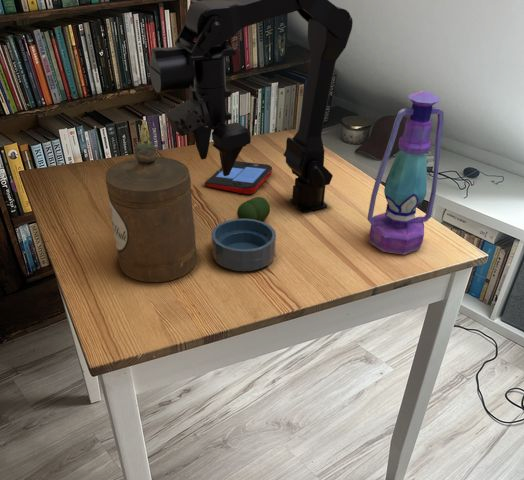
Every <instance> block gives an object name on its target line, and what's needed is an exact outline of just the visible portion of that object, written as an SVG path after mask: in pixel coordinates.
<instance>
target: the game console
mask: <svg viewBox="0 0 524 480" xmlns="http://www.w3.org/2000/svg"><path fill="white" fill-rule="evenodd" d="M272 174H273V167H272V165H270V164H267V163H259V162H258V163H256V162H248V161H241V160H239V161H238V160H236V161H235V163H234V165H233V168H232V170H231V172H230V174H229V175H228V176H224V175H223V171H222V167H221V168H219V169H217V170H216V172H215V173H214V174H212V176H210V177H209V178H208V179H207V180H206V181H205V182H204V185H205V186H206V187H207V188H212V189H216V190H222V191H227V192H232V193H238V194H242V195H252V194H254V193H255V192H257V190H258V189H259V188H260V187H261V186H262V185H263V184H264V183H265V182H266V181H267V180H268V179H269V178H270V177H271V176H272Z"/></svg>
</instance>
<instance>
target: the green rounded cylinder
mask: <svg viewBox="0 0 524 480" xmlns="http://www.w3.org/2000/svg"><path fill="white" fill-rule="evenodd" d="M270 211H271V206H270V203H269V201H268V200H267V199H266V198H265V197H263V196H255V197H253V198H250V199H248V200H246V201H244V202H242V203H241V204H240V205H239V206H238V208H237V211H236V216H237V219H254V220H258V221H263V220H265V219H266V218H267V217H268V216H269V214H270Z"/></svg>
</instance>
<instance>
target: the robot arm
mask: <svg viewBox="0 0 524 480" xmlns="http://www.w3.org/2000/svg"><path fill="white" fill-rule="evenodd" d="M295 12H297V14H298V15H299V16H300V17H301V18H302V19H303V20H304V21H305V22H306V23H307V42H308V46H309V51H310V61H309V67H308V72H307V73H308V74H307V79H306V85H305V89H304V90H305V91H304V95H303V96H304V97H303V102H302V108H301V114H300V119H299V124H298V130H297V132H296V133H295V135H294V136H293V137H287V138H286V142H285V143H286V146H285V151H284V152H283V157H285V164H286V165H287V166H288V168H290V170H291V173H292V175H295V176H296V177H294V185H293V186H292V194H291V195H292V196H291V198H290V199H289V201H290V203H292V204H293V205H294V206H295V207H296V208H297V209H298V210H300V212H302V213H308V212H314V211H318V210H323V209H327V208H328V204H327V203H326V202H325V192H326V186H329V185H330V184H331V181H332V179H333V177H334V176H333V174H332V173H331V172H330V170H328V169H327V167H326V166H324V165H325V148H324V142H323V138H322V133H323V128H324V122H325V119H326V112H327V108H328V104H329V98H330V92H331V87H332V82H333V78H334V73H335V66H336V63H337V60H338V59H339V57H340V56H341V55H342V54H343V52H344V50H345V49H346V47H347V44H348V42H349V39H350V36H351V33H352V30H353V25H354V24H353V23H354V21H353V17H352V16H351V13H350V12H349V11H348V10H347V9H346V8H342V7H340V6H336V5H335V4H334V3H333V2H331V1H330V0H196V1H194V2H192V3H190V5H189V6H188V9H187V10H186V13H185V18H184V20H185V21H184V23H183V25H182V28H181V30H180V31H179V33H178V36H177V38H176V39H175V41H174V46H170V47H152V48H151V56H150V59H149V66H148V73H149V78H150V82H151V85H152V88H153V89H154V91H155V92H156V93H157V94H161V93H167V92H173V91H180V90H186V89H189V88H190V87H191V86H194V87H193V88H190V89H189V90H190V91H189V92H188V95H189V97H188V99H187V100H185V101H183V102H180V103H179V104H177V105H175V106H174V107H173V108H171V109H170V110H168V111H167V112H166V114H165V116H166V118H167V120H168V123H169V125H170V127H171V129H172V131H173V132H175V133H177V134H178V136H181V137H185V136H187V135H189V134H191V136H192V138H193V141H194V144H195V146H196V150H197V152H198V155H199V158H200V160H207V157H208V153H209V148H210V142H211V140H212V142H213V143H212V145H211V146H212V147H214V148H215V149H216V150H217V151H218V152H219V161H220V165H221V166H220V167H221V168H222V171H223V175H224V176H228V175H229V174H230V172H231V170H232V168H233V165H234V163H235V161H237V159H238V157H239V155H240V153H241V151H242V150H243V148H244V147H246V146H247V145H250V144H251V143H252V142H251V141H252V139H251V138H252V137H251V136H252V132H251V131H250V130H249V129H248V128H247V127H246V126H244V125H243V124H241V123H240V122H237V121H236V122H231V123H226V121H232V113H231V112H229V111H228V108H227V107H228V105H227V103H228V102H227V101H228V100H227V99H228V98H231V97H232V93H231V92H232V91H231V90H230V89H229V88H227V78H226V75H227V74H226V58H227V57H233V56H236V55H237V51H236V50H235V49H234V48H233V47H232V46H231V45H230V43H229V42H228V41H229V40H230V39H232V38H234V37H235V36H236V35H237V34H238V33H239V32H240V31H241V30H243V29H245V28H247V27H249V26H253V25H256V24H259V23H262V22H265V21H269V20H272V19H275V18H278V17H281V16H285V15H288V14H292V13H295ZM195 39H196V42H195V41H194V40H195Z"/></svg>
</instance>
